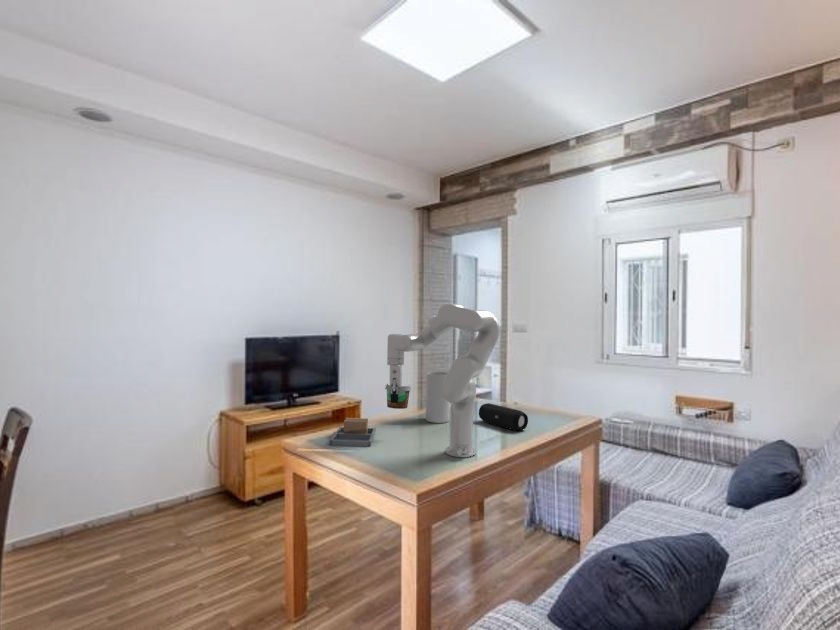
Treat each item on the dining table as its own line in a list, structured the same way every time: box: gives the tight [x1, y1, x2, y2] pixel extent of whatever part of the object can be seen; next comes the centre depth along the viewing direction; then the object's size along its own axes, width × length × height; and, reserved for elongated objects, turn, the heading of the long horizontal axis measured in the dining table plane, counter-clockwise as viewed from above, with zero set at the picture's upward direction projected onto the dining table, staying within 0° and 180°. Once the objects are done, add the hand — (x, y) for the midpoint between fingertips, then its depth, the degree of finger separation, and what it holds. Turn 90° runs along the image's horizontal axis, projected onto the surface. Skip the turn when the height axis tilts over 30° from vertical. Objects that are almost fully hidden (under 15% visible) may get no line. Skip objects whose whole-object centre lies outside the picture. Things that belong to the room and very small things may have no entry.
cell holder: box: [329, 426, 377, 448], centre depth 199 cm, size 21×17×3 cm
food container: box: [384, 383, 412, 410], centre depth 203 cm, size 12×6×10 cm, turn 68°
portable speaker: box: [478, 402, 529, 431], centre depth 232 cm, size 26×10×10 cm, turn 41°
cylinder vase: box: [425, 371, 451, 424], centre depth 239 cm, size 12×12×25 cm
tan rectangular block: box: [343, 417, 369, 434], centre depth 204 cm, size 6×10×7 cm, turn 90°
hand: (394, 400), depth 204 cm, fingers closed on food container, 6 cm apart
